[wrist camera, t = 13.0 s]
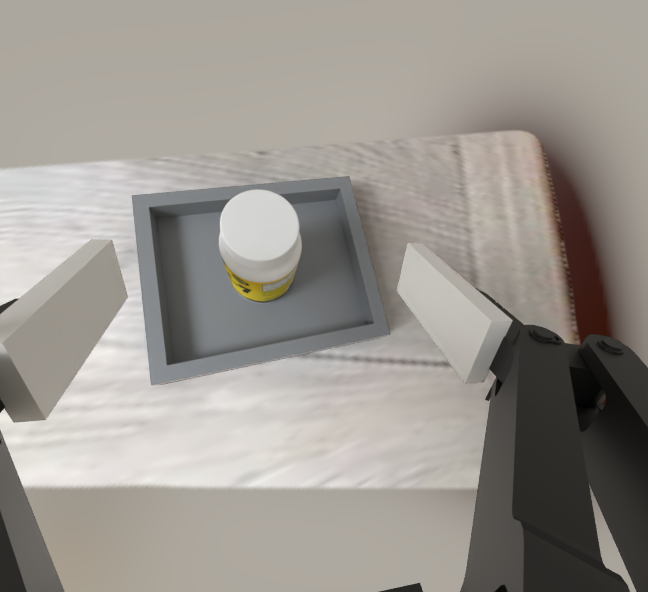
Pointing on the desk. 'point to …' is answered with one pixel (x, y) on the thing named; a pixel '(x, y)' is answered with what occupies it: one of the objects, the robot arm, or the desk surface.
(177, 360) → the tray
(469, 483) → the desk surface
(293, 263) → the supplement bottle
